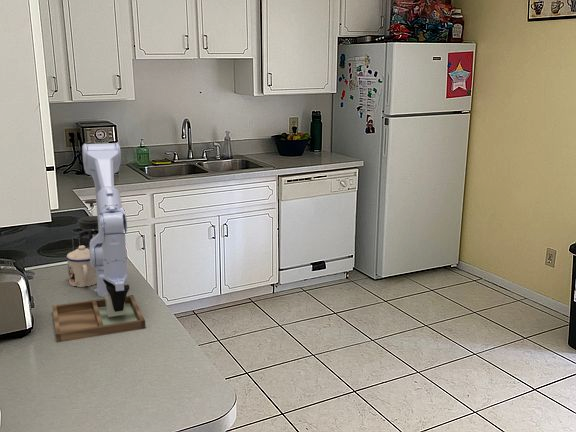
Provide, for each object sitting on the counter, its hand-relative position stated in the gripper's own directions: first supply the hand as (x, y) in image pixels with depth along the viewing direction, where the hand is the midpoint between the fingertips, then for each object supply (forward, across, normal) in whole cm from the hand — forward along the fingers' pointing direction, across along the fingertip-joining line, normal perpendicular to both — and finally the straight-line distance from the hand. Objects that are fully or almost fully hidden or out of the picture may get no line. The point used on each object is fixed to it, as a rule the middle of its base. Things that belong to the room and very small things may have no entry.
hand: (117, 307), depth 154 cm
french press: (+4, -42, -2) cm, 42 cm away
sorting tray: (+4, 0, -5) cm, 6 cm away
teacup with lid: (+4, -30, -6) cm, 31 cm away
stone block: (+1, 0, 0) cm, 1 cm away
